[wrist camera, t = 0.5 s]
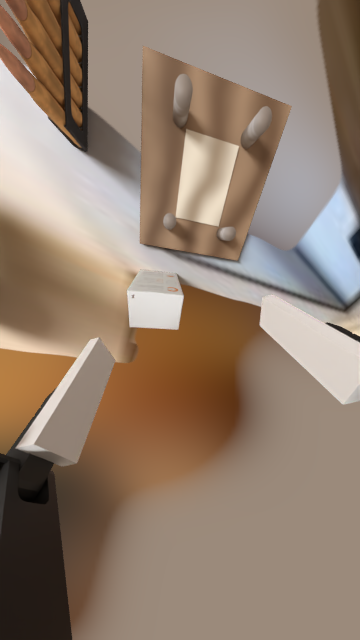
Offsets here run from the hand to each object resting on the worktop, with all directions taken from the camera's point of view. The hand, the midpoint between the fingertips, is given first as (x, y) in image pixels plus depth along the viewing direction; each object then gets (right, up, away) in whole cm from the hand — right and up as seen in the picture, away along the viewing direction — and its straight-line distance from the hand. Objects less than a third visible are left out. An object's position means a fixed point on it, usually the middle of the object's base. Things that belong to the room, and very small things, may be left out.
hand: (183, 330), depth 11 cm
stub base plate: (+4, +24, +12) cm, 27 cm away
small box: (-5, +9, +21) cm, 23 cm away
